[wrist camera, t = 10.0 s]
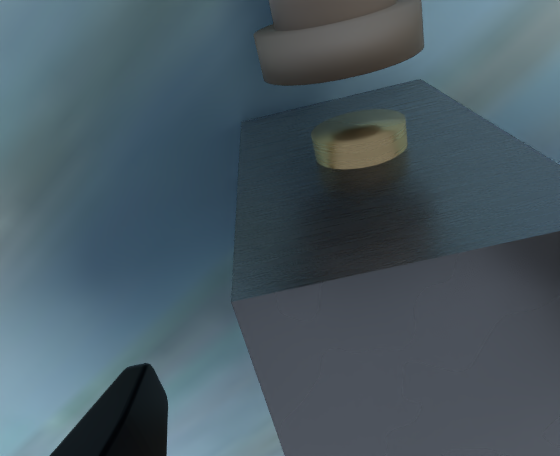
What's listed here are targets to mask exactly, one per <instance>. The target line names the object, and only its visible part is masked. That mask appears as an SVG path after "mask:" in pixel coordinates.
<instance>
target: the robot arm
mask: <svg viewBox="0 0 560 456" xmlns="http://www.w3.org/2000/svg"><path fill="white" fill-rule="evenodd" d="M167 422H168V400H167V396H166V393H165V390H164V388H163V386H162V384H161V382H160V380H159V378H158V376H157V374H156V372H155V370H154V368H153V367H152V366H151V365H150V364H148V363H143V364H139V365H134V366H130V367H127V368H126V369H125V370H124V371H123V372H122V373H121V374H120V375H119V376H118V377H117V379H116V380H115V381H114V382H113V383H112V384H111V385H110V387H109V388H108V389H107V390H106V391H105V392H104V394H103V395H102V396H101V397H100V398H99V399H98V400H97V402H96V403H95V404H94V405H93V406H92V407H91V409H90V410H89V411H88V412H87V413H86V414H85V416H84V417H83V418H82V419H81V420H80V421H79V422H78V424H77V425H76V426H75V427H74V428H73V429H72V431H71V432H70V433H69V434H68V435H67V436H66V437H65V439H64V440H63V441H62V442H61V443H60V444H59V446H58V447H57V448H56V449H55V450H54V451H53V453H52V454H51V455H50V456H166V454H167Z"/></svg>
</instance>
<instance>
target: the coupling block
mask: <svg viewBox="0 0 560 456" xmlns="http://www.w3.org/2000/svg"><path fill="white" fill-rule="evenodd" d="M231 303H232V306H233V309H234V311H235V314H236V317H237V320H238V323H239V326H240V329H241V331H242V334H243V337H244V340H245V343H246V346H247V349H248V351H249V354H250V357H251V360H252V363H253V366H254V369H255V372H256V374H257V377H258V380H259V383H260V386H261V389H262V392H263V394H264V397H265V400H266V403H267V406H268V409H269V412H270V414H271V417H272V420H273V423H274V426H275V429H276V432H277V434H278V437H279V440H280V443H281V446H282V449H283V452H284V455H285V456H560V165H558V164H557V163H555V162H554V161H552V160H550V159H549V158H547V157H546V156H544V155H542V154H541V153H539V152H537V151H536V150H534V149H533V148H531V147H529V146H528V145H526V144H525V143H523V142H521V141H520V140H518V139H516V138H515V137H513V136H512V135H510V134H508V133H507V132H505V131H504V130H502V129H500V128H499V127H497V126H495V125H494V124H492V123H491V122H489V121H487V120H486V119H484V118H483V117H481V116H479V115H478V114H476V113H474V112H473V111H471V110H470V109H468V108H466V107H465V106H463V105H462V104H460V103H458V102H457V101H455V100H453V99H452V98H450V97H449V96H447V95H445V94H444V93H442V92H441V91H439V90H437V89H436V88H434V87H432V86H431V85H429V84H428V83H426V82H424V81H423V80H421V79H419V80H415V81H411V82H406V83H402V84H398V85H394V86H390V87H385V88H381V89H377V90H373V91H369V92H364V93H360V94H356V95H352V96H348V97H344V98H339V99H335V100H331V101H327V102H323V103H318V104H314V105H310V106H306V107H302V108H297V109H293V110H289V111H285V112H281V113H276V114H272V115H268V116H264V117H260V118H255V119H251V120H247V121H243V122H241V134H240V152H239V170H238V188H237V206H236V224H235V243H234V261H233V279H232V297H231Z"/></svg>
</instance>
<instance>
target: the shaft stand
mask: <svg viewBox="0 0 560 456" xmlns="http://www.w3.org/2000/svg"><path fill="white" fill-rule="evenodd" d="M269 4H270V9H271V14H272V18H273V23H274V24H272V25H269V26H267V27H264V28H262V29H260V30H258V31H257V32H255V33H254V40H255V44H256V48H257V52H258V57H259V61H260V65H261V70H262V74H263V78H264V81H265V82H267V83H269V84H273V85H282V86H293V85H308V84H316V83H324V82H330V81H336V80H341V79H346V78H350V77H355V76H359V75H363V74H367V73H371V72H374V71H378V70H381V69H384V68H387V67H390V66H393V65H395V64H398V63H401V62H403V61H405V60H407V59H409V58H411V57H413V56H415V55H417V54H418V53H419V52H421V51H422V50H423V48H424V37H423V20H422V4H421V0H269Z"/></svg>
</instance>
